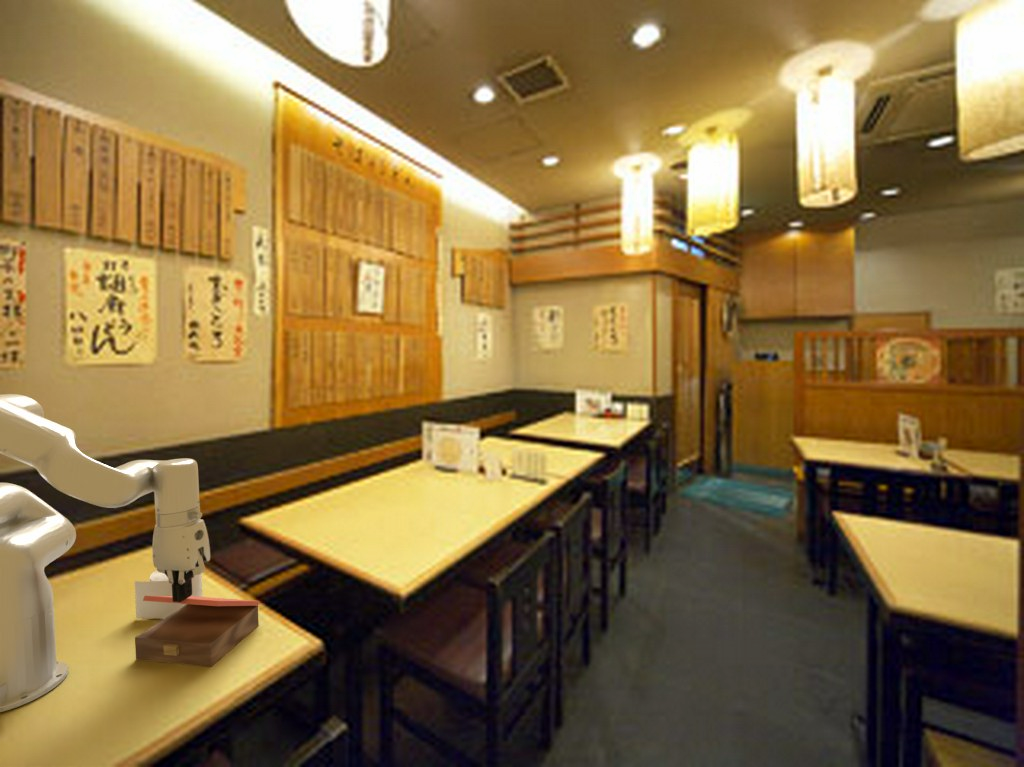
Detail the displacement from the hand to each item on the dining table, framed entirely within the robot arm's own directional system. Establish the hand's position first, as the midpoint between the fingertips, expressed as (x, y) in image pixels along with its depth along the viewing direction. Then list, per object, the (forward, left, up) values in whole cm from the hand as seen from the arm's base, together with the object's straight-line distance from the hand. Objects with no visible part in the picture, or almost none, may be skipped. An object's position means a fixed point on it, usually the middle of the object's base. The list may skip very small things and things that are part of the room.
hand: (182, 598), depth 91 cm
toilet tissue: (+16, +18, -13) cm, 28 cm away
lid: (+6, 0, -4) cm, 7 cm away
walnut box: (+5, 0, -13) cm, 14 cm away
